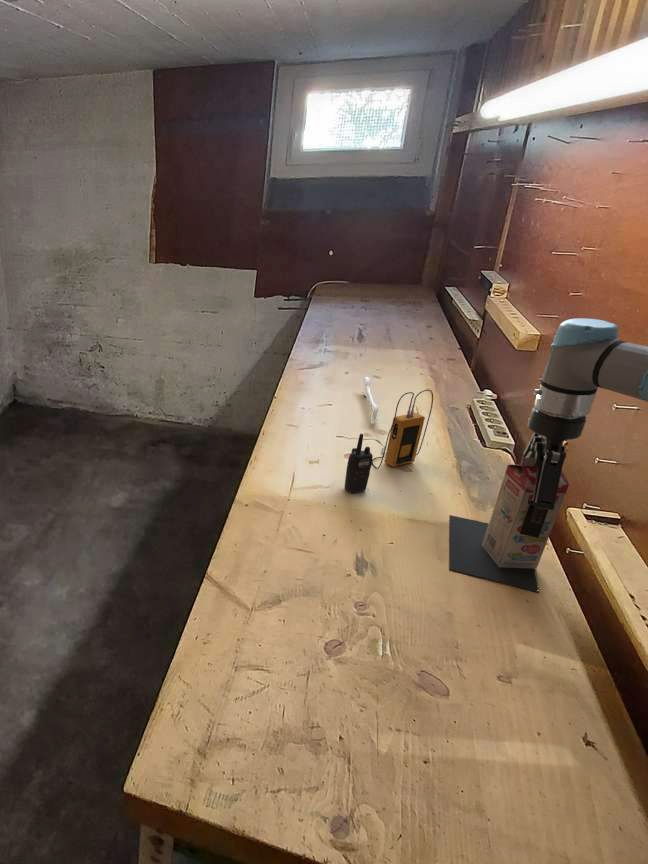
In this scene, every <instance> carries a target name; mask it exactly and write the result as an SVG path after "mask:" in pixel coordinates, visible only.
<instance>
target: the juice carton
mask: <svg viewBox="0 0 648 864" xmlns="http://www.w3.org/2000/svg"><path fill="white" fill-rule="evenodd" d="M534 461H535V458H524V457H523V456H521V460H520V463H519V464H507V466H506V470H505V473H504V476H503V479H502V482H501V485H500V488H499V491H498V495H497V498H496V501H495V504H494V507H493V509H492V513H491V516H490V519H489V521H488V523H489V525H488V528H487V531H486V534H485V537H484V540H483V543H482V546H483V548H484V549H485V550H486V552H487V553H488V554H489V555H490V557H491V558H492V559H493V560H494V562H495V563H496V564H497V566H498V567H504V568H530V569H535V570H536V569H538V566H539V564H540V561H541V558H542V555H543V554H544V551H545V548H546V545H547V543H548V540H549V538H550V536H551V532H552V530H553V527H554V525H555V522H556V520H557V517H558V514H559V512H560V510H561V507H562V504H563V502H564V499H565V496H566V494H567V491H568V488H569V486H570V483H569V481H568V479H567V477H566V476H565V473H564V472H563V470H562V471H561V476H560V480H559V485H558V490H557V495H556V499H555V504H554V506H555V507H554V509H553V510H548V512H547V515H546V518H545V521H544V524H543V527H542V529H541V532H540V535H539V538H536V537H532V536H527V535H522V534H520V529H521V526H522V523H523V520H524V517H525V514H526V511H527V508H528V505H529V504H527V501H528V500H532V498H533V492H534V485H535V478H536V472H537V468H536V467H535V466H534Z"/></svg>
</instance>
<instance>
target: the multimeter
mask: <svg viewBox="0 0 648 864" xmlns="http://www.w3.org/2000/svg"><path fill="white" fill-rule="evenodd" d="M426 391H428V392H430V393H431V403H430V409H429V413H428V418H427V421H426V425H425V428H424V423H425V419H426V416H424V415H422V414H420V413H417V412H415V406H416V405H415V404H416V399H417V397H419V395H420V394H422V393H424V392H426ZM408 394H409V395H410V394H412V396H411V399H410V403H409V407H408V410H407V413H406V414H403V415H402V414H401V415H397V413H398V407H399V404H400V402H401V400H402V398H403V397H404V396H406V395H408ZM414 396H415V393H414V392H411V391H410V392H409V391H408V392H405V393H404V394H402V395H401V396H400V398H399V399H398V402H397V404H396V407H395V413H394V417H393V418H392V423H391V426H390V429H389V431H388V434H387V438H386V441H385V445H384V446H385V447H384V446H382V448H381V450H382V451H381V452H382V456H377V457H374V458H372V464H371V466H372V467H374V468H375V469H377V470H378V469H380V467H381V466H382V463H383V460H384V463H386V464H387V465H389V466H390V467H392V468H396V467H398V466H402V465H407V464H412V463H414V462H415V461H416V456H418V455H419V454H420V451H421V448H422V445H423V444H424V443H423V442H424V439H425V436H426V432H427V429H428V425H429V421H430V417H431V413H432V410H433V404H434V393H433V391H432V390H431V389H424V390H421V391H420V392H419V393H417V394H416V396H415V397H414ZM413 399H414V400H413ZM412 402H413V404H412ZM423 429H424V432H423V434H422V431H423ZM421 435H423V436H422V438H421ZM420 440H421V443H420ZM419 444H420V445H419ZM376 459H381V460H380V464H379V466H378V467H377V466H375V464H374V463H373V462H374V460H376Z"/></svg>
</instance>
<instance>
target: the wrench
mask: <svg viewBox="0 0 648 864" xmlns="http://www.w3.org/2000/svg"><path fill="white" fill-rule="evenodd" d="M370 387H371V379H370V377H364V379H363V388H362V395H363V396H365V397H366V400H367V402H368V404H369V405H368V406H369V407H370V411H371V419H370V423H371V424H373V425H375V424H376V422H377V418H378V411H379V404H376V403H375V401H374V397H373V395H372V392H371V389H370Z"/></svg>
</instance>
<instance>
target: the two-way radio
mask: <svg viewBox="0 0 648 864" xmlns="http://www.w3.org/2000/svg"><path fill="white" fill-rule="evenodd" d="M363 440H364V433H359V436H358V441H357V445H356V447H353V448H351V453H350V454H349V456H348V460H347V465H346V471H345V480H344V489H345V490H346V492H349V493H359V492H365V491H366V490H367V486H368V484H369V483H368V482H369V479H370V473H371V468H372V463H373V461H372V460H373V459H374V458H373V457H374V456H373V454H372V452H371V447H370V446H365V447H364V450H362V447H363Z"/></svg>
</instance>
